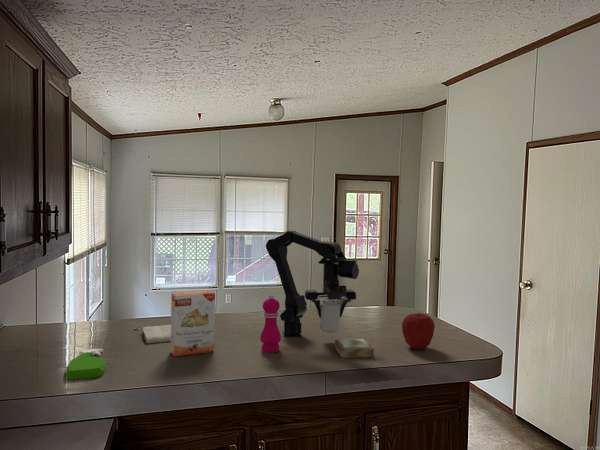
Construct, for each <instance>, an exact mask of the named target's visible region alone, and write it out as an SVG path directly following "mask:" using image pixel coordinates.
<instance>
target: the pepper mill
mask: <svg viewBox="0 0 600 450" xmlns="http://www.w3.org/2000/svg"><path fill="white" fill-rule="evenodd" d="M274 297H275V296H274V294H272V293H270V294H269V296H268V298H266V299H265V300H264V301H263V303H262V309H263V312H264V313H263V314H264V315H263V317H264V326H263V328H262V331H261V333H260V342H261V343H262V345H261V351H262V352H263V353H268V354H271V353H272V354H274V353H277V352H279V351H280V345H279V343H280V341H281V339H282V335H281V332H280V329H279V327H278V324H277V323H278V322H277V321H278V320H277V319H278V317H279V312H278V311H279V310H280V307H281V305H280V302H279V300H278V299H276V298H274Z"/></svg>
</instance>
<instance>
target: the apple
mask: <svg viewBox="0 0 600 450" xmlns="http://www.w3.org/2000/svg"><path fill="white" fill-rule="evenodd" d="M435 328H436V327H435V322H434V319H432V317H430V315H429V314H426V313H420V312H418V313H410V314H408V315H406V316H405V317H404V318H403V319H402V323H401V329H402V330H401V331H402V335H403V338H404V340H405V343H406V344H407V345H408V346H409V347H411V348H412V349H414V350H419V351H420V350H425V349H426V348H427V347H428V346H430V344H431V342H432V339H433V337H434V334H435Z"/></svg>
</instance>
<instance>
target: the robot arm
mask: <svg viewBox="0 0 600 450" xmlns="http://www.w3.org/2000/svg"><path fill="white" fill-rule="evenodd" d="M292 243H295V244H296V245H299V246H302V247H304V248H307V249H309V250H313V251H315V252H316V253H317V254H318V255H319V256H321V257H322V258H321V259H320V260H319V261H318V264H320V265H323V275H322V276H323V278H322V281H323V282H322V292H320V291H317V290H316V289H306V290H305V291H304V294H302V295H300V293H299V292H298V290H297V287H296V284H295V280H294V277H293V274H292V271H291V268H290V265H289V262H288V258H287V257H288V247H290V245H292ZM265 250H266V252H267V254H268V255H269V257H270V258H271V259H272V261H274V263H275V266H276V269H277V272H278V276H279V279H280V282H281V285H282V289H283V291H284V292H283V293H284V295H285V298H284V299H285V300H284V307H285V309H284V311H282V313H281V314H280V315H279V317H280V320H281V321H283V322H282V323H283V327H282V328H283V330H282V335H283V337H301V336H302V322H301V318H303V316H304V314H305V313H306V312H307V308H308V307H307V306H308V303H307V302H306V300H307V301H311V302H312V303H313V305H315V309H316V311H317V315H318V318H319V319H320V318H321V311H320V303H321V300H320V298H328V299H329V300H332V299H337V300H339V303H340V318H342V315H343V313H344V309H345V308H346V306H347V304H348V303H350V302H351V301H352V300H354V301H355V300H357V293H356V291H354V290H353V289H347V286H346V285H340V282H339V281H340V280H339V277H340V278H344V279H350V280H351V279H352V280H357V278H358V276H359V273H360V269H359V265H358V264H357V260H356V259H352V260H351V259H348V258H346V255H345V254H344V253H343V250H342V248H341V245H340V244H339V243H338V242H332V241H325V240H324V241H323V240H319V239H317V238H314V237H311V236H309V235H305V234H302V233H300V232H298V231H296V230H288V231H286V232H285V233H283V234H281V235H279V236H277V237H275V238H270V239H268V240H267V242H266V244H265Z"/></svg>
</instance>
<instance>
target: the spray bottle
mask: <svg viewBox="0 0 600 450" xmlns="http://www.w3.org/2000/svg"><path fill="white" fill-rule="evenodd" d="M103 352H104V348H92V349H83V350H79V352H78V353H79V355H78V356H76V357H75V358H72V359H71V361H69V363H68V365H67V366H66V370H65V376H66V378H67V380H70V381H73V380H83V379H93V378H94V379H95V378H99V377H101V376H102V375H103V374H104V372H105V370H106V366H107V363H106V360H105V359H104V358H102V357H98V356H95V355H99V356H100V355H102V353H103Z"/></svg>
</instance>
